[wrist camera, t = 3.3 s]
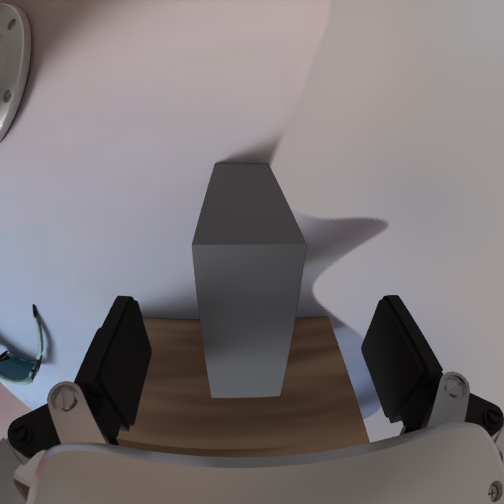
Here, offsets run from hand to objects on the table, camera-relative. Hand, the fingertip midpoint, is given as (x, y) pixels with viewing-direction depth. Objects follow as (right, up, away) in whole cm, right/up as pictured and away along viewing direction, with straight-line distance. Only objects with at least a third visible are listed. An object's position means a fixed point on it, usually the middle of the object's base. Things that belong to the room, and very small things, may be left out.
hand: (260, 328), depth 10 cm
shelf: (-4, -11, +16) cm, 20 cm away
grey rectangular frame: (-1, +5, +7) cm, 8 cm away
